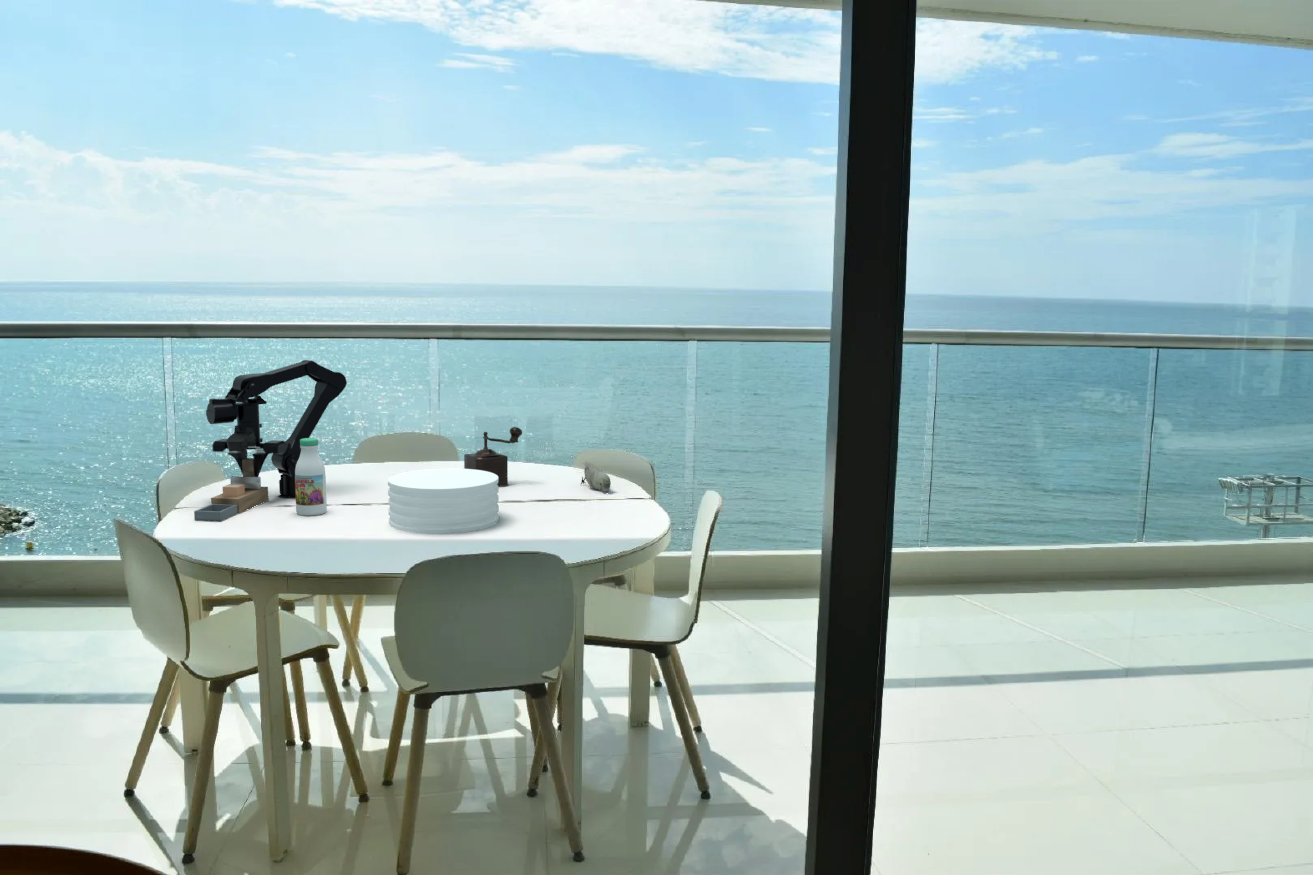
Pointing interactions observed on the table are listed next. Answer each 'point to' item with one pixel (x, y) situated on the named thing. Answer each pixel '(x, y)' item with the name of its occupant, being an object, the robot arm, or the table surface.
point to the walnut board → (243, 499)
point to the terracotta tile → (233, 490)
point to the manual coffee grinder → (492, 458)
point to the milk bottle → (310, 480)
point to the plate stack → (443, 500)
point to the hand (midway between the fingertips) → (250, 476)
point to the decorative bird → (596, 477)
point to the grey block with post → (247, 475)
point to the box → (215, 512)
